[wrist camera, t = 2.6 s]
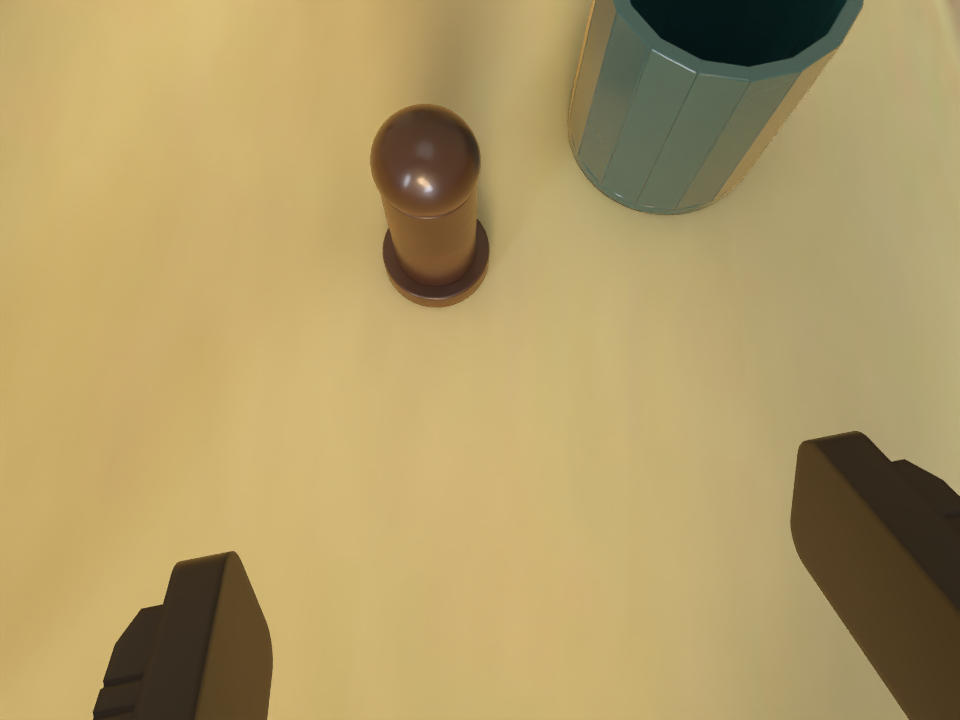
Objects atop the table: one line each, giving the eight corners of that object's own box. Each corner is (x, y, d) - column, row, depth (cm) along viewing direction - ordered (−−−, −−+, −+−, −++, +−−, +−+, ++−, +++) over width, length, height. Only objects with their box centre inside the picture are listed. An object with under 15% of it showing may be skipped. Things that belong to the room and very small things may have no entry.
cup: (555, 199, 30) (589, 57, 22) (579, 35, 32) (620, -158, 23) (747, 228, 30) (860, 97, 21) (761, 61, 32) (869, -123, 23)
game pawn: (376, 299, 29) (334, 188, 20) (395, 203, 30) (364, 58, 21) (480, 315, 29) (483, 211, 20) (496, 219, 30) (506, 79, 21)
